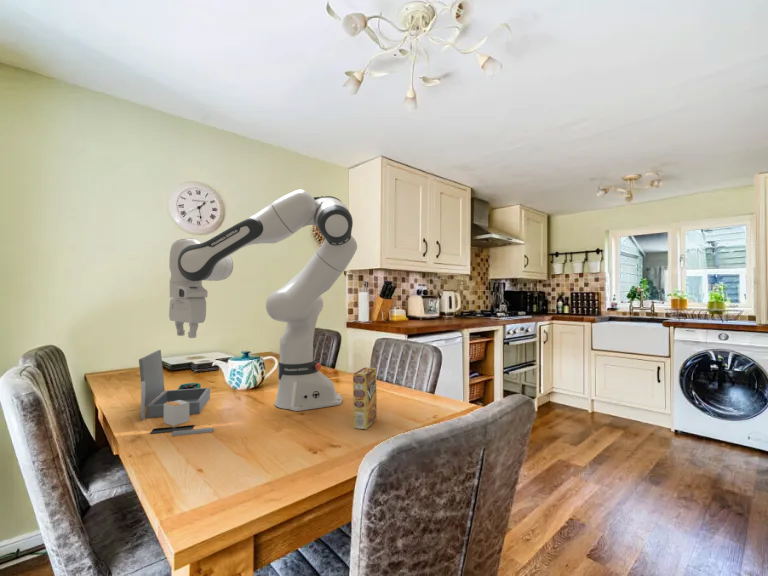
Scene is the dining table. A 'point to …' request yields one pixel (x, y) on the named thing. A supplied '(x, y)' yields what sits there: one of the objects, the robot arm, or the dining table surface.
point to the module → (176, 412)
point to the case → (193, 396)
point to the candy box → (364, 398)
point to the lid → (152, 376)
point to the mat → (171, 429)
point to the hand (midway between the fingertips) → (186, 336)
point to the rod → (192, 431)
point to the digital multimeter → (189, 386)
